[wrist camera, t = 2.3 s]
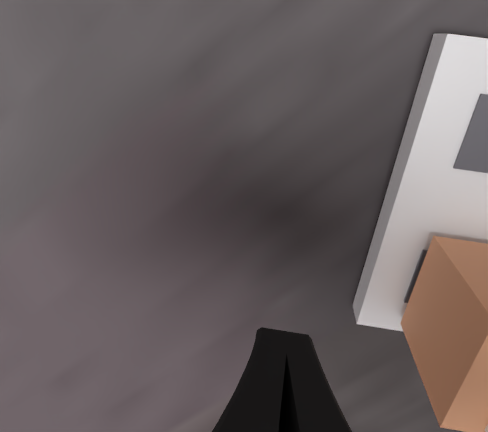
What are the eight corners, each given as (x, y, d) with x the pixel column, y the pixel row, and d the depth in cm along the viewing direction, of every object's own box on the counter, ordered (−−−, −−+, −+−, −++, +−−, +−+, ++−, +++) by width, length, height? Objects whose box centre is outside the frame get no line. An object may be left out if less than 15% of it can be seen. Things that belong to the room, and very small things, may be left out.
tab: (520, 248, 13) (629, 350, 9) (476, 335, 15) (551, 455, 11) (433, 235, 14) (500, 329, 9) (400, 323, 15) (443, 436, 11)
